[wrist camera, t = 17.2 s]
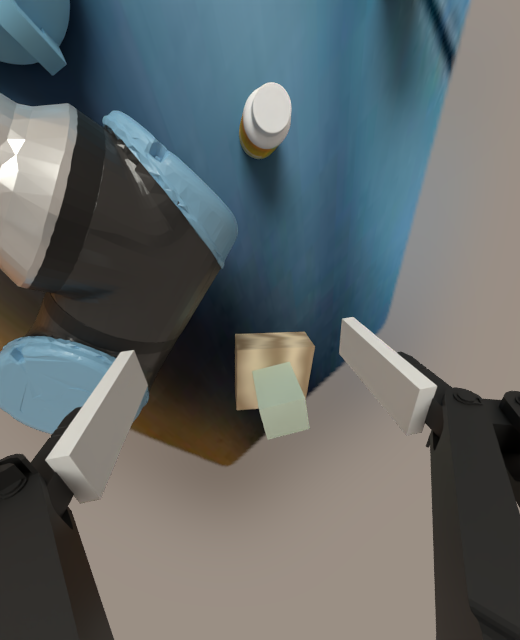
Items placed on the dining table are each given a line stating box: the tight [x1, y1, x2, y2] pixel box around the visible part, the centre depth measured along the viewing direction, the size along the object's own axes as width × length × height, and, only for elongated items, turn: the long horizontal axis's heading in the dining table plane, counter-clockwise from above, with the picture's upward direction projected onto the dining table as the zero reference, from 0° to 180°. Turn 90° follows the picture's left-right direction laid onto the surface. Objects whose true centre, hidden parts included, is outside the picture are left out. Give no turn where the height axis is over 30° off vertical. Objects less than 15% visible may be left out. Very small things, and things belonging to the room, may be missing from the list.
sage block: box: [252, 362, 310, 440], centre depth 39 cm, size 7×7×9 cm
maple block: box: [235, 332, 315, 410], centre depth 46 cm, size 14×14×6 cm
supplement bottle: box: [239, 83, 291, 159], centre depth 27 cm, size 5×5×10 cm
